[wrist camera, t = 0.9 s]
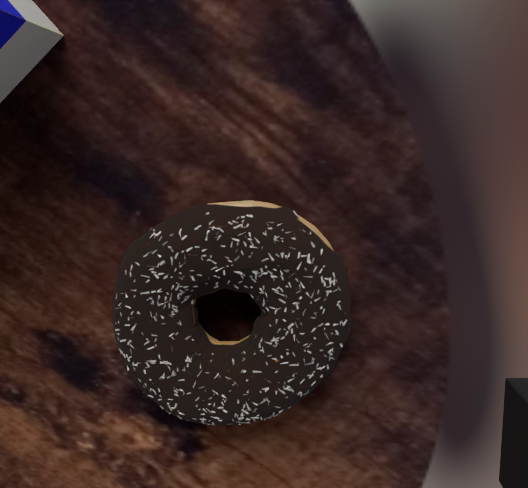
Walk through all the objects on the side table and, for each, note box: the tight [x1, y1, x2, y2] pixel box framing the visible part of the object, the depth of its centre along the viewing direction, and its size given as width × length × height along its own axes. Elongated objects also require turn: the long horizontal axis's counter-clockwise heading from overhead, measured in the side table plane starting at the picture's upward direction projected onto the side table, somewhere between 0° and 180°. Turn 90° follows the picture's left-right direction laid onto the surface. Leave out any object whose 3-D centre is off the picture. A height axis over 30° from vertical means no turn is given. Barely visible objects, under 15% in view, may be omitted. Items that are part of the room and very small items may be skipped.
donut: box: [113, 200, 352, 425], centre depth 24 cm, size 11×12×4 cm
